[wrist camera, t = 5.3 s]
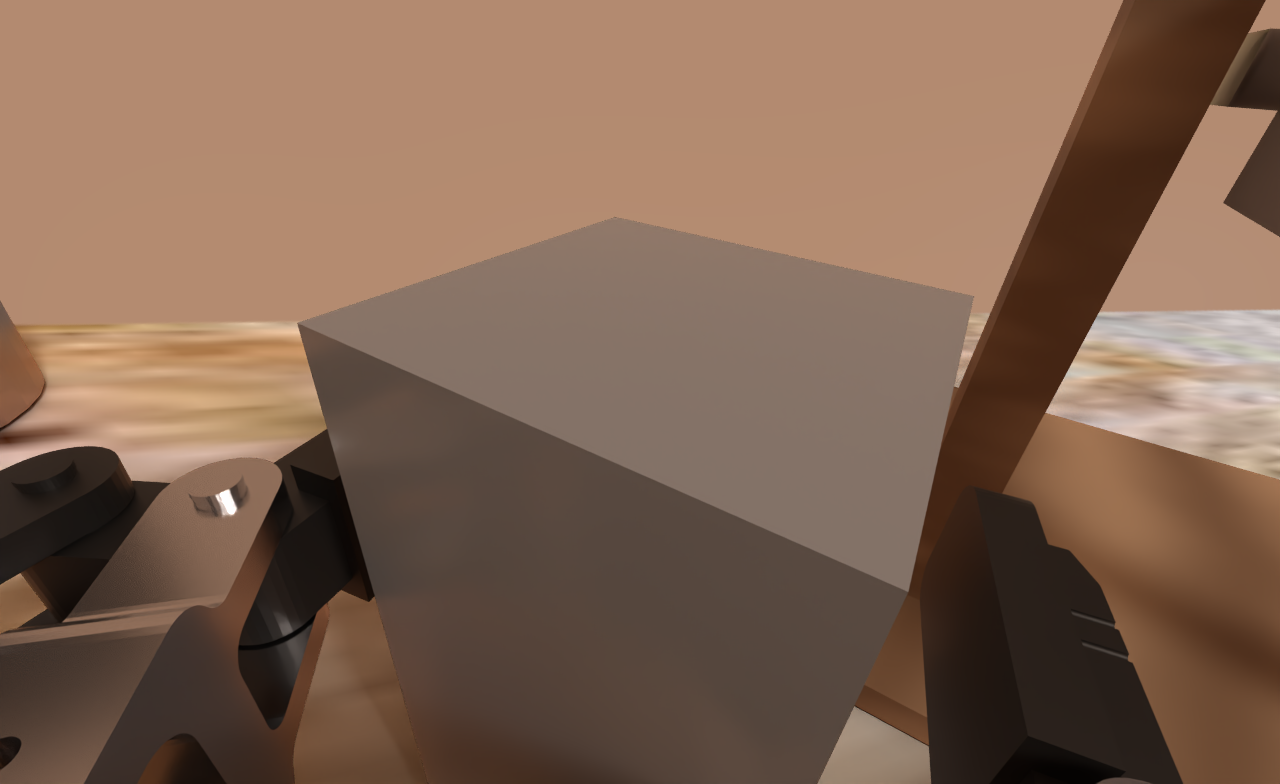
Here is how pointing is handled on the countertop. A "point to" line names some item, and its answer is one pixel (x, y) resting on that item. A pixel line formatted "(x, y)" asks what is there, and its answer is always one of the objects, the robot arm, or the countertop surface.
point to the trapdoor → (1276, 172)
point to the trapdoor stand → (1106, 461)
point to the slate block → (637, 499)
